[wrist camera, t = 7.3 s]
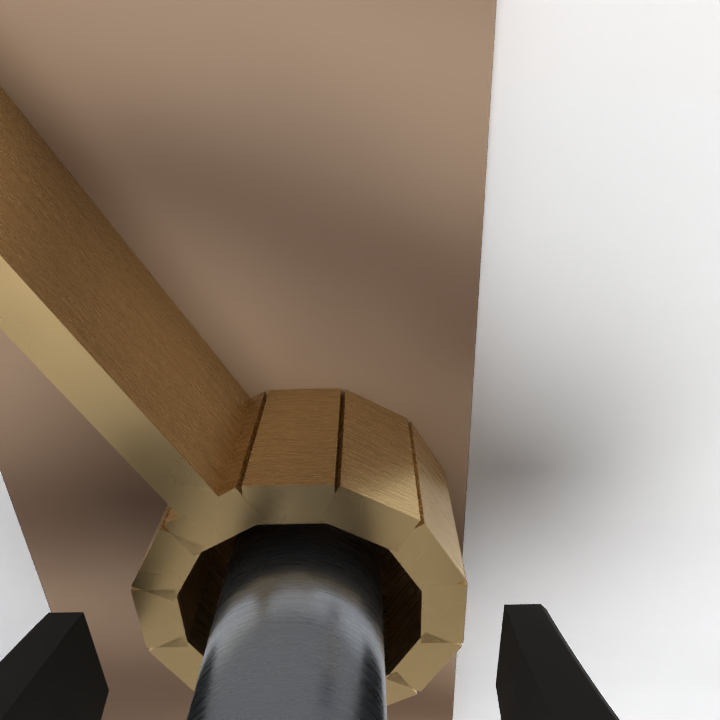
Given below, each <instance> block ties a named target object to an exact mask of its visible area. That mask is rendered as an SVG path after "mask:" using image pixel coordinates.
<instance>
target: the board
mask: <svg viewBox="0 0 720 720" xmlns="http://www.w3.org/2000/svg"><path fill="white" fill-rule="evenodd" d="M496 3H497V0H0V86H1V87H2V88H3V90H4V91H5V92H6V93H7V95H8V96H9V97H10V98H11V100H12V101H13V102H14V103H15V105H16V106H17V107H18V108H19V110H20V111H21V112H22V113H23V115H24V116H25V117H26V118H27V120H28V121H29V122H30V123H31V125H32V126H33V127H34V128H35V130H36V131H37V132H38V133H39V135H40V136H41V137H42V138H43V140H44V141H45V142H46V143H47V144H48V146H49V147H50V148H51V149H52V151H53V152H54V153H55V154H56V156H57V157H58V158H59V159H60V161H61V162H62V163H63V164H64V166H65V167H66V168H67V169H68V171H69V172H70V173H71V174H72V176H73V177H74V178H75V179H76V181H77V182H78V183H79V184H80V186H81V187H82V188H83V189H84V191H85V192H86V193H87V194H88V196H89V197H90V198H91V199H92V201H93V202H94V203H95V204H96V206H97V207H98V208H99V209H100V211H101V212H102V213H103V214H104V216H105V217H106V218H107V219H108V221H109V222H110V223H111V224H112V226H113V227H114V228H115V229H116V231H117V232H118V233H119V234H120V236H121V237H122V238H123V239H124V241H125V242H126V243H127V244H128V246H129V247H130V248H131V249H132V251H133V252H134V253H135V254H136V256H137V257H138V258H139V259H140V261H141V262H142V263H143V264H144V266H145V267H146V268H147V269H148V271H149V272H150V273H151V274H152V276H153V277H154V278H155V279H156V281H157V282H158V283H159V284H160V286H161V287H162V288H163V289H164V291H165V292H166V293H167V294H168V296H169V297H170V298H171V299H172V301H173V302H174V303H175V304H176V306H177V307H178V308H179V309H180V311H181V312H182V313H183V314H184V316H185V317H186V318H187V319H188V321H189V322H190V323H191V324H192V326H193V327H194V328H195V329H196V331H197V332H198V333H199V334H200V336H201V337H202V338H203V339H204V341H205V342H206V343H207V344H208V346H209V347H210V348H211V349H212V351H213V352H214V353H215V354H216V356H217V357H218V358H219V359H220V361H221V362H222V363H223V364H224V366H225V367H226V368H227V369H228V371H229V372H230V373H231V374H232V376H233V377H234V378H235V379H236V381H237V382H238V383H239V384H240V386H241V387H242V388H243V389H244V391H245V392H246V393H247V394H248V396H249V397H250V398H253V397H255V396H257V395H259V394H260V393H262V392H264V391H265V392H266V394H267V395H268V392H269V390H286V389H329V388H341V396H342V395H343V393H344V391H345V390H348V391H351V392H353V393H355V394H357V395H359V396H361V397H363V398H365V399H368V400H370V401H372V402H374V403H376V404H378V405H380V406H382V407H384V408H387V409H389V410H391V411H393V412H395V413H397V414H399V415H401V416H404V417H406V418H408V423H409V422H412V423H413V425H414V426H415V428H416V429H417V431H418V432H419V434H420V435H421V437H422V438H423V439H424V441H425V442H426V444H427V445H428V447H429V448H430V450H431V451H432V453H433V454H434V456H435V457H436V459H437V460H438V462H439V463H440V465H441V466H442V467H443V469H444V472H445V475H446V480H447V485H448V490H449V495H450V500H451V505H452V510H453V515H454V520H455V525H456V530H457V535H458V540H459V545H460V550H461V555H463V539H464V522H465V506H466V490H467V474H468V457H469V441H470V425H471V409H472V393H473V376H474V360H475V344H476V328H477V311H478V295H479V279H480V263H481V246H482V230H483V214H484V198H485V182H486V165H487V149H488V133H489V117H490V100H491V84H492V68H493V52H494V35H495V19H496ZM0 471H1V474H2V476H3V479H4V482H5V485H6V488H7V490H8V493H9V496H10V499H11V501H12V504H13V507H14V510H15V513H16V515H17V518H18V521H19V524H20V526H21V529H22V532H23V535H24V538H25V540H26V543H27V546H28V549H29V551H30V554H31V557H32V560H33V563H34V565H35V568H36V571H37V574H38V576H39V579H40V582H41V585H42V588H43V590H44V593H45V596H46V599H47V601H48V604H49V607H50V610H51V613H57V612H84V615H85V618H86V621H87V624H88V627H89V630H90V633H91V636H92V639H93V642H94V646H95V649H96V652H97V655H98V658H99V661H100V664H101V667H102V670H103V673H104V676H105V679H106V682H107V685H108V688H109V693H108V696H107V700H106V704H105V707H104V711H103V714H102V718H101V720H187V717H188V713H189V709H190V706H191V702H192V698H193V694H194V691H193V690H192V689H191V688H190V687H188V686H187V685H186V684H185V683H184V682H183V681H182V680H181V679H179V678H178V677H177V676H176V675H175V674H174V673H173V672H172V671H170V670H169V669H168V668H167V667H166V666H165V665H164V664H163V663H161V662H160V661H159V660H158V659H157V658H156V657H155V656H153V655H152V654H151V653H150V652H149V649H150V648H146V645H145V641H144V637H143V634H142V630H141V626H140V623H139V619H138V615H137V611H136V608H135V604H134V600H133V597H132V593H131V588H132V586H131V585H132V583H133V581H134V578H135V576H136V574H137V572H138V569H139V567H140V565H141V562H142V560H143V558H144V556H145V553H146V551H147V549H148V547H149V544H150V542H151V540H152V538H153V535H154V533H155V531H156V529H157V526H158V524H159V522H160V520H161V517H162V515H163V513H164V511H165V508H166V506H167V503H166V502H165V501H164V500H163V499H162V497H161V496H160V495H159V494H158V493H157V492H156V491H155V490H154V489H153V488H152V487H151V486H150V485H149V484H148V483H147V482H146V481H145V480H144V479H143V478H142V477H141V475H140V474H139V473H138V472H137V471H136V470H135V469H134V468H133V467H132V466H131V465H130V464H129V463H128V462H127V461H126V460H125V459H124V458H123V457H122V456H121V455H120V454H119V452H118V451H117V450H116V449H115V448H114V447H113V446H112V445H111V444H110V443H109V442H108V441H107V440H106V439H105V438H104V437H103V436H102V435H101V434H100V433H99V432H98V430H97V429H96V428H95V427H94V426H93V425H92V424H91V423H90V422H89V421H88V420H87V419H86V418H85V417H84V416H83V415H82V414H81V413H80V412H79V411H78V410H77V408H76V407H75V406H74V405H73V404H72V403H71V402H70V401H69V400H68V399H67V398H66V397H65V396H64V395H63V394H62V393H61V392H60V391H59V390H58V389H57V388H56V387H55V385H54V384H53V383H52V382H51V381H50V380H49V379H48V378H47V377H46V376H45V375H44V374H43V373H42V372H41V371H40V370H39V369H38V368H37V367H36V366H35V365H34V363H33V362H32V361H31V360H30V359H29V358H28V357H27V356H26V355H25V354H24V353H23V352H22V351H21V350H20V349H19V348H18V347H17V346H16V345H15V344H14V343H13V342H12V340H11V339H10V338H9V337H8V336H7V335H6V334H5V333H4V332H3V331H2V330H1V329H0ZM234 537H236V535H235V536H234ZM380 550H381V555H383V554H385V553H386V551H387V550H388V548H385V547H383V546H380ZM455 669H456V653H455V654H454V655H453V657H452V658H451V659H450V660H449V661H448V662H447V663H446V664H445V665H444V667H443V668H442V669H441V670H440V671H439V672H438V673H437V674H436V675H435V677H434V678H433V679H432V680H431V681H430V682H429V683H428V684H427V685H426V687H425V688H424V689H423V690H422V691H421V692H420V691H417V694H416V695H414V696H411V697H409V698H406V699H403V700H401V701H398V702H396V703H393V704H390V705H388V706H387V720H452V717H453V701H454V685H455Z"/></svg>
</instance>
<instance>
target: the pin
mask: <svg viewBox="0 0 720 720" xmlns="http://www.w3.org/2000/svg"><path fill="white" fill-rule="evenodd" d="M187 720H387V705H386V679H385V653H384V627H383V601H382V576H381V550H380V545H378V544H376V543H373V542H371V541H368V540H366V539H364V538H361V537H359V536H356V535H354V534H352V533H349V532H347V531H344V530H342V529H340V528H337V527H335V526H332V525H330V524H328V523H315V524H263V525H255V526H253V527H251V528H249V529H247V530H245V531H243V532H241V533H239V534H237V535H236V537H235V541H234V545H233V548H232V552H231V556H230V560H229V563H228V567H227V571H226V575H225V578H224V582H223V586H222V589H221V593H220V597H219V601H218V604H217V608H216V612H215V616H214V619H213V623H212V627H211V631H210V634H209V638H208V642H207V646H206V649H205V653H204V657H203V661H202V664H201V668H200V672H199V676H198V679H197V683H196V687H195V691H194V694H193V698H192V702H191V706H190V709H189V713H188V717H187Z"/></svg>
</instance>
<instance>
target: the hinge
mask: <svg viewBox="0 0 720 720" xmlns="http://www.w3.org/2000/svg"><path fill="white" fill-rule="evenodd" d="M0 329H1V330H2V331H3V332H4V333H5V334H6V335H7V336H8V337H9V338H10V339H11V340H12V342H13V343H14V344H15V345H16V346H17V347H18V348H19V349H20V350H21V351H22V352H23V353H24V354H25V355H26V356H27V357H28V358H29V359H30V360H31V361H32V362H33V363H34V365H35V366H36V367H37V368H38V369H39V370H40V371H41V372H42V373H43V374H44V375H45V376H46V377H47V378H48V379H49V380H50V381H51V382H52V383H53V384H54V385H55V387H56V388H57V389H58V390H59V391H60V392H61V393H62V394H63V395H64V396H65V397H66V398H67V399H68V400H69V401H70V402H71V403H72V404H73V405H74V406H75V407H76V408H77V410H78V411H79V412H80V413H81V414H82V415H83V416H84V417H85V418H86V419H87V420H88V421H89V422H90V423H91V424H92V425H93V426H94V427H95V428H96V429H97V430H98V432H99V433H100V434H101V435H102V436H103V437H104V438H105V439H106V440H107V441H108V442H109V443H110V444H111V445H112V446H113V447H114V448H115V449H116V450H117V451H118V452H119V454H120V455H121V456H122V457H123V458H124V459H125V460H126V461H127V462H128V463H129V464H130V465H131V466H132V467H133V468H134V469H135V470H136V471H137V472H138V473H139V474H140V475H141V477H142V478H143V479H144V480H145V481H146V482H147V483H148V484H149V485H150V486H151V487H152V488H153V489H154V490H155V491H156V492H157V493H158V494H159V495H160V496H161V497H162V499H163V500H164V501H165V502H166V503H167V506H166V508H165V511H164V513H163V515H162V517H161V520H160V522H159V524H158V526H157V529H156V531H155V533H154V535H153V538H152V540H151V542H150V544H149V547H148V549H147V551H146V553H145V556H144V558H143V560H142V562H141V565H140V567H139V569H138V572H137V574H136V576H135V578H134V581H133V583H132V585H131V586H132V588H131V593H132V597H133V600H134V604H135V608H136V611H137V615H138V619H139V623H140V626H141V630H142V634H143V637H144V641H145V645H146V648H150V649H149V652H150V653H151V654H152V655H153V656H155V657H156V658H157V659H158V660H159V661H160V662H161V663H163V664H164V665H165V666H166V667H167V668H168V669H169V670H170V671H172V672H173V673H174V674H175V675H176V676H177V677H178V678H179V679H181V680H182V681H183V682H184V683H185V684H186V685H187V686H188V687H190V688H191V689H192V690H193V691H195V687H196V683H197V679H198V676H199V672H200V668H201V664H202V661H203V657H204V653H205V649H206V646H207V642H208V638H209V634H210V631H211V627H212V623H213V619H214V616H215V612H216V608H217V604H218V601H219V597H220V593H221V589H222V586H223V582H224V578H225V575H226V571H227V567H228V563H229V560H230V556H231V552H232V548H233V545H234V541H235V537H234V536H235V535H237V534H239V533H241V532H243V531H245V530H247V529H249V528H251V527H253V526H255V525H263V524H315V523H328V524H330V525H332V526H335V527H337V528H340V529H342V530H344V531H347V532H349V533H352V534H354V535H356V536H359V537H361V538H364V539H366V540H368V541H371V542H373V543H376V544H378V545H380V546H383V547H385V548H388V550H387V551H386V553H385V554H383V555H381V576H382V601H383V627H384V653H385V679H386V705H387V706H388V705H390V704H393V703H396V702H398V701H401V700H403V699H406V698H409V697H411V696H414V695H416V694H417V691H420V692H421V691H422V690H423V689H424V688H425V687H426V685H427V684H428V683H429V682H430V681H431V680H432V679H433V678H434V677H435V675H436V674H437V673H438V672H439V671H440V670H441V669H442V668H443V667H444V665H445V664H446V663H447V662H448V661H449V660H450V659H451V658H452V657H453V655H454V654H455V653H456V652H457V651H458V650H459V649H460V648H461V646H462V645H461V643H463V641H464V626H465V611H466V597H467V580H466V575H465V570H464V565H463V560H462V555H461V550H460V545H459V540H458V535H457V530H456V525H455V520H454V515H453V510H452V505H451V500H450V495H449V490H448V485H447V480H446V475H445V472H444V469H443V467H442V466H441V465H440V463H439V462H438V460H437V459H436V457H435V456H434V454H433V453H432V451H431V450H430V448H429V447H428V445H427V444H426V442H425V441H424V439H423V438H422V437H421V435H420V434H419V432H418V431H417V429H416V428H415V426H414V425H413V423H412V422H409V423H408V418H406V417H404V416H401V415H399V414H397V413H395V412H393V411H391V410H389V409H387V408H384V407H382V406H380V405H378V404H376V403H374V402H372V401H370V400H368V399H365V398H363V397H361V396H359V395H357V394H355V393H353V392H351V391H348V390H345V391H344V393H343V395H342V396H341V388H329V389H286V390H269V392H268V395H267V394H266V392H265V391H264V392H262V393H260V394H259V395H257V396H255V397H253V398H250V397H249V396H248V394H247V393H246V392H245V391H244V389H243V388H242V387H241V386H240V384H239V383H238V382H237V381H236V379H235V378H234V377H233V376H232V374H231V373H230V372H229V371H228V369H227V368H226V367H225V366H224V364H223V363H222V362H221V361H220V359H219V358H218V357H217V356H216V354H215V353H214V352H213V351H212V349H211V348H210V347H209V346H208V344H207V343H206V342H205V341H204V339H203V338H202V337H201V336H200V334H199V333H198V332H197V331H196V329H195V328H194V327H193V326H192V324H191V323H190V322H189V321H188V319H187V318H186V317H185V316H184V314H183V313H182V312H181V311H180V309H179V308H178V307H177V306H176V304H175V303H174V302H173V301H172V299H171V298H170V297H169V296H168V294H167V293H166V292H165V291H164V289H163V288H162V287H161V286H160V284H159V283H158V282H157V281H156V279H155V278H154V277H153V276H152V274H151V273H150V272H149V271H148V269H147V268H146V267H145V266H144V264H143V263H142V262H141V261H140V259H139V258H138V257H137V256H136V254H135V253H134V252H133V251H132V249H131V248H130V247H129V246H128V244H127V243H126V242H125V241H124V239H123V238H122V237H121V236H120V234H119V233H118V232H117V231H116V229H115V228H114V227H113V226H112V224H111V223H110V222H109V221H108V219H107V218H106V217H105V216H104V214H103V213H102V212H101V211H100V209H99V208H98V207H97V206H96V204H95V203H94V202H93V201H92V199H91V198H90V197H89V196H88V194H87V193H86V192H85V191H84V189H83V188H82V187H81V186H80V184H79V183H78V182H77V181H76V179H75V178H74V177H73V176H72V174H71V173H70V172H69V171H68V169H67V168H66V167H65V166H64V164H63V163H62V162H61V161H60V159H59V158H58V157H57V156H56V154H55V153H54V152H53V151H52V149H51V148H50V147H49V146H48V144H47V143H46V142H45V141H44V140H43V138H42V137H41V136H40V135H39V133H38V132H37V131H36V130H35V128H34V127H33V126H32V125H31V123H30V122H29V121H28V120H27V118H26V117H25V116H24V115H23V113H22V112H21V111H20V110H19V108H18V107H17V106H16V105H15V103H14V102H13V101H12V100H11V98H10V97H9V96H8V95H7V93H6V92H5V91H4V90H3V88H2V87H1V86H0Z"/></svg>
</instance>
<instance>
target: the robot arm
mask: <svg viewBox="0 0 720 720" xmlns="http://www.w3.org/2000/svg"><path fill="white" fill-rule="evenodd" d="M496 689H497V695H498V702H499V708H500V714H501V720H619V718H618V717H617V716H616V714H615V713H614V711H613V710H612V709H611V707H610V706H609V705H608V703H607V702H606V700H605V699H604V698H603V696H602V695H601V693H600V692H599V690H598V689H597V688H596V686H595V685H594V683H593V682H592V680H591V679H590V677H589V676H588V674H587V673H586V671H585V670H584V668H583V667H582V665H581V664H580V662H579V661H578V659H577V658H576V656H575V655H574V653H573V652H572V650H571V649H570V647H569V646H568V644H567V642H566V641H565V639H564V638H563V636H562V634H561V633H560V631H559V630H558V628H557V626H556V625H555V623H554V621H553V620H552V618H551V616H550V615H549V613H548V611H547V610H546V608H544V607H543V606H542V605H541V604H519V605H504V613H503V622H502V632H501V641H500V650H499V660H498V669H497V678H496ZM108 693H109V688H108V685H107V682H106V679H105V676H104V673H103V670H102V667H101V664H100V661H99V658H98V655H97V652H96V649H95V646H94V642H93V639H92V636H91V633H90V630H89V627H88V624H87V621H86V618H85V615H84V612H57V613H48V614H47V615H46V616H45V617H44V618H43V619H42V620H41V621H40V622H39V623H38V624H37V625H36V626H35V627H34V628H33V629H32V630H31V631H30V632H29V633H28V634H27V635H26V636H25V637H24V638H23V639H22V640H21V641H20V642H19V643H18V644H17V645H16V646H15V647H14V648H13V649H12V650H11V651H10V652H9V653H8V654H7V655H6V656H5V657H4V658H3V659H2V660H1V662H0V720H101V718H102V714H103V711H104V707H105V704H106V700H107V696H108Z"/></svg>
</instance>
